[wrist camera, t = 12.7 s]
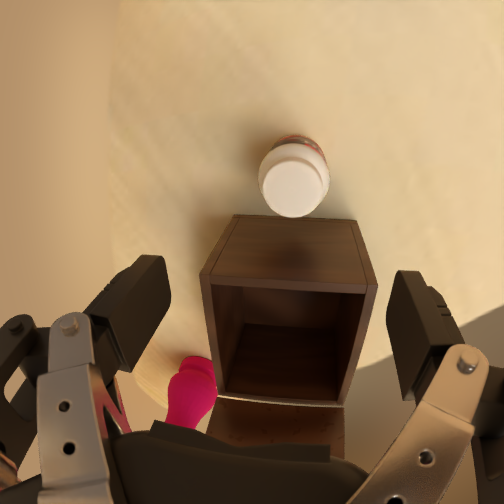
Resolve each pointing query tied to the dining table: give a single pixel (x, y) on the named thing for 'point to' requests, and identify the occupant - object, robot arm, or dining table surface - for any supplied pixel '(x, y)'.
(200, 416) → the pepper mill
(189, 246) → the dining table surface
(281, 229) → the chest
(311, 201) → the pill bottle
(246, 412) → the lid
